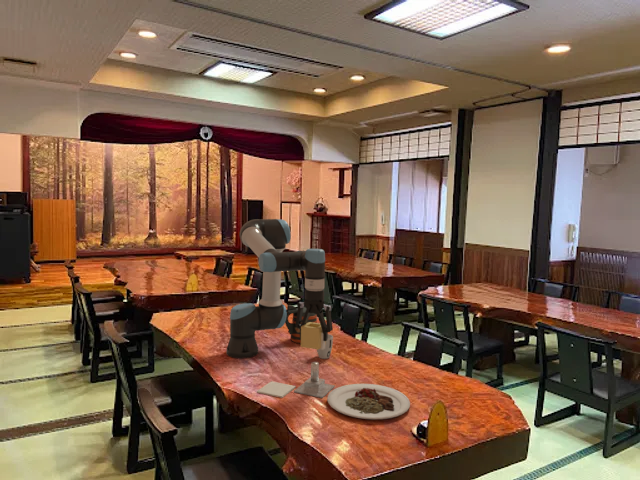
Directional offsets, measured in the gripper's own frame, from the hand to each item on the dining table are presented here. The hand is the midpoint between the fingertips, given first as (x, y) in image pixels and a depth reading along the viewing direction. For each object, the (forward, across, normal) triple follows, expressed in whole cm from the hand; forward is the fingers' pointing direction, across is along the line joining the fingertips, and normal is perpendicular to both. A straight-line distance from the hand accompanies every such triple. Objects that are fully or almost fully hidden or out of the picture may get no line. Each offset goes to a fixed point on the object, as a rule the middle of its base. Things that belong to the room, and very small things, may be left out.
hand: (313, 347), depth 183 cm
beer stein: (+17, -32, +55) cm, 66 cm away
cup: (+17, -11, +37) cm, 43 cm away
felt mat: (+17, -12, -7) cm, 22 cm away
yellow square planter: (-1, 0, 0) cm, 1 cm away
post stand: (+17, +1, 0) cm, 17 cm away
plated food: (+17, +24, -3) cm, 30 cm away
